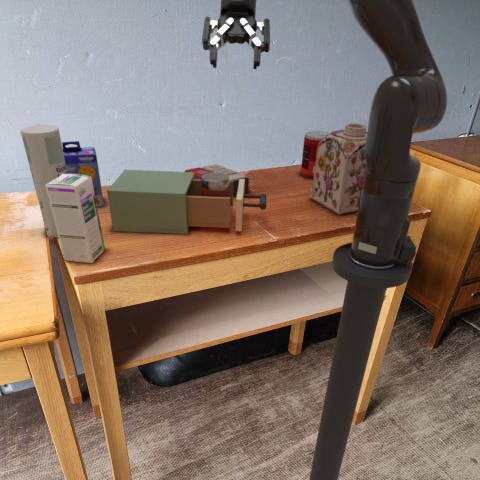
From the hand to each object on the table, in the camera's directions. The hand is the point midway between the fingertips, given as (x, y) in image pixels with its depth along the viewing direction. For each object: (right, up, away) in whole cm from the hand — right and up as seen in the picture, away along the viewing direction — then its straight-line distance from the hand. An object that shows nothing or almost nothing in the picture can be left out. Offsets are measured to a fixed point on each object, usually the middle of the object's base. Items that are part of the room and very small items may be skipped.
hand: (234, 65), depth 92 cm
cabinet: (-17, -31, +5) cm, 36 cm away
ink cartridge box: (-36, -26, +12) cm, 46 cm away
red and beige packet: (-5, -19, +23) cm, 30 cm away
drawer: (-3, -31, +4) cm, 31 cm away
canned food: (+22, -12, +34) cm, 42 cm away
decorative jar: (+26, -25, +16) cm, 40 cm away
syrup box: (-28, -41, -9) cm, 51 cm away
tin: (-4, -30, +4) cm, 30 cm away
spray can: (-36, -35, -1) cm, 50 cm away
